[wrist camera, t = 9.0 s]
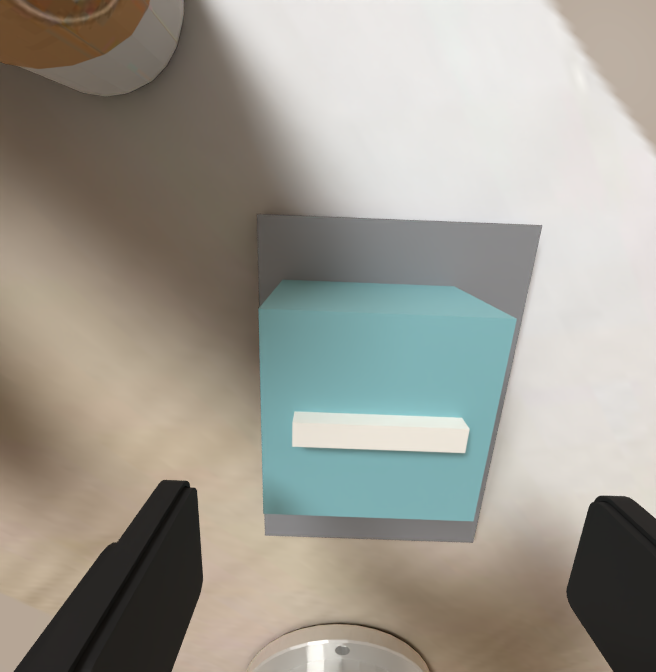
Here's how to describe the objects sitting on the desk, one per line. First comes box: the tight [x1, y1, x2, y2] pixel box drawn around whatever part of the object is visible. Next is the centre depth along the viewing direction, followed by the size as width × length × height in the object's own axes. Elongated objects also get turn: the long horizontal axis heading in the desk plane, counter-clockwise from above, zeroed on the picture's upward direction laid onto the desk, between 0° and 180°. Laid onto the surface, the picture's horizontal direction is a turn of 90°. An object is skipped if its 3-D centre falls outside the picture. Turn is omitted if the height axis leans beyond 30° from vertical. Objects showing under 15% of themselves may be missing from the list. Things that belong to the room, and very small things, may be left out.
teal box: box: [258, 280, 517, 521], centre depth 13 cm, size 7×7×6 cm
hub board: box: [257, 214, 542, 543], centre depth 15 cm, size 16×11×5 cm
